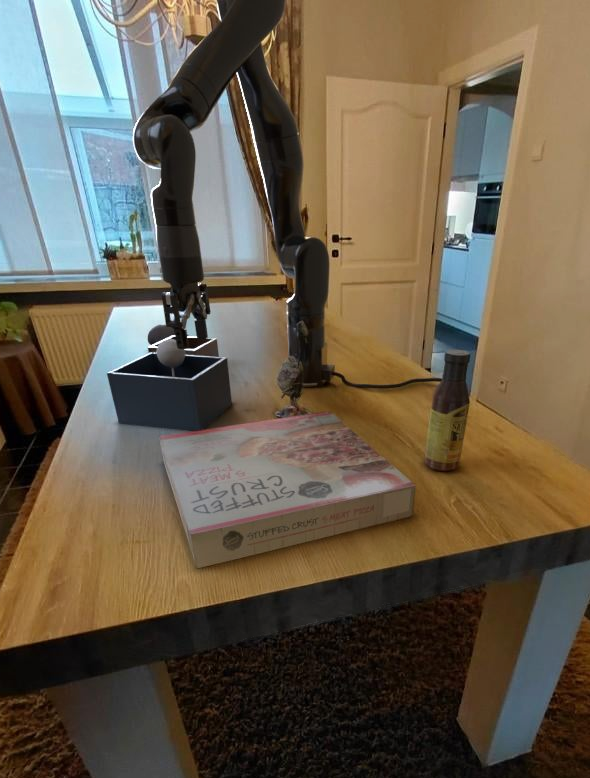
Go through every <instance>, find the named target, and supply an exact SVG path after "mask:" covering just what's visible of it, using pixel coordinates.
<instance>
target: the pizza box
mask: <svg viewBox="0 0 590 778" xmlns="http://www.w3.org/2000/svg"><path fill="white" fill-rule="evenodd" d="M158 439H159V444H160V449H161V454H162V460H163V464H164V467H165V471H166V474H167V477H168V481H169V484H170V486H171V490H172V493H173V497H174V500H175V503H176V506H177V511H178V513H179V516H180V519H181V524H182V526H183V529H184V532H185V535H186V539H187V542H188V545H189V548H190V552H191V555H192V558H193V562H194V565H195V568H196V569H201V568H206V567H209V566H213V565H218V564H221V563H225V562H231V561H234V560H238V559H242V558H246V557H251V556H254V555H258V554H263V553H267V552H271V551H276V550H279V549H283V548H284V549H285V548H288V547H292V546H295V545H300V544H304V543H308V542H313V541H316V540H321V539H325V538H329V537H333V536H337V535H341V534H345V533H350V532H353V531H358V530H363V529H367V528H370V527H374V526H379V525H383V524H386V523H391V522H395V521H398V520H403V519H408V518H411V517H413V513H414V504H415V496H416V487H417V485H416V484H414V482H413V481H412V480H411V479H409V478H408V477H407V476H405V474H404V473H402V472H401V471H400V470H399V469H397V468H396V466H394V465H393V464H392V463H390V462H389V461H388V460H387V459H386V458H384V457H383V455H381V454H380V453H379V452H378V451H377V450H375V449H374V448H373V447H372V446H371V445H370V444H369V443H367V442H366V440H364V439H363V438H362V437H360V436H359V435H358V434H357V433H356V432H354V430H352V429H351V428H350V427H349V426H348V425H347V424H345V423H344V422H343V421H341V419H340V418H338V416H336V415H335V414H334V413H332V412H331V410H329V411H328V410H327V411H321V412H315V413H314V412H313V413H311V414H307V415H300V416H293V417H287V418H283V417H279V418H273V419H266V420H260V421H254V422H247V423H241V424H234V425H227V426H226V425H225V426H220V427H219V426H218V427H212V428H207V429H205V428H204V429H202V430H199V431H192V430H191V431H186V432H179V433H178V432H177V433H173V434H165V435H160V436H158Z"/></svg>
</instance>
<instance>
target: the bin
mask: <svg viewBox="0 0 590 778" xmlns="http://www.w3.org/2000/svg"><path fill="white" fill-rule="evenodd" d="M174 374H175V377H173V375H172V368H171V367H167V366H165V365H163V364H162V363H161V362H160V361H159V359H158V357H157V354H156V353H154V352H150V353H149V352H148V353H146V354H144V355H142V356H139V357H138V358H137V357H136V358H135V359H134V360H130V361H129V362H127V363H124V364H123V365H120V366H119V367H116V368H114V369H112V370H111V371H107V372H106V376H107V381H108V384H109V390H110V393H111V398H112V401H113V405H114V410H115V412H116V418H117V421H118V424H124V425H134V426H144V427H154V428H164V429H173V430H185V431H191V432H192V431H199V430H205V428H206V427H207V426H208V425H210V424H211V423H212V422H213V421H214V420H216V419H217V417H219V416H220V415H221V414H222V413H224V411H226V410H227V409H228V408H229V407H230V406H231V405H232V404H233V399H232V391H231V390H232V389H231V382H230V373H229V363H228V357H221V356H219V357H210V356H196V355H185V359H184V361H183V363H182V364H181V365H179V366H177V367H174Z"/></svg>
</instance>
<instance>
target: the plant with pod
mask: <svg viewBox="0 0 590 778" xmlns="http://www.w3.org/2000/svg"><path fill="white" fill-rule="evenodd" d="M296 328H297V329H296V330H297V337H298V340H299V345H300V350H299V357H298V359H297V358H296V357H294V356H289V355H288V356H287V357H286V358H285V360H283V362H282V363H281V365H280V368H279V369H278V372H277V377H276V384H277V385H278V387H279V389H280V390H281V393H282V395H281V397H280V398H281V399H284V397H285V396H287V397H289V403H290V404H287V405H284V406H283V408H282V409H278V410H276V411H274V412H273V414H275V416H276V417H278V418H287V417H293V416H300V415H307V414H312V412H311V410H309V409H308V408H306V407H305V406H304V405H303V404H299V401H300V399H301V397H302V395H303V392H304V391H303V390H304V387H303V379H304V376H303V375H304V374H303V371H304V369H303V366H302V364H301V362H300V351H301V345H302V340H305V342H306V343H308V342H307V339H306V337H307V336H308V331H307V328H306V325H305V324H304V322H303V321H300V322H299V323H298V324H297V326H296ZM295 355H297V354H295Z"/></svg>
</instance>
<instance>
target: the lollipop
mask: <svg viewBox="0 0 590 778" xmlns="http://www.w3.org/2000/svg"><path fill="white" fill-rule="evenodd" d="M156 354H157V357H158V359H159V361H160V362H161V363H162V364H163V365H165V366H167V367H171V368H172V375H173V377H175V374H174V367H177V366H179V365H181V364H182V363H183V361H184V359H185V350H184V349H178V348H177V344H176V340H173V339H167V340H164V341H162V342H161V343H160V344H159V345H158V347H157V351H156Z"/></svg>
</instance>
